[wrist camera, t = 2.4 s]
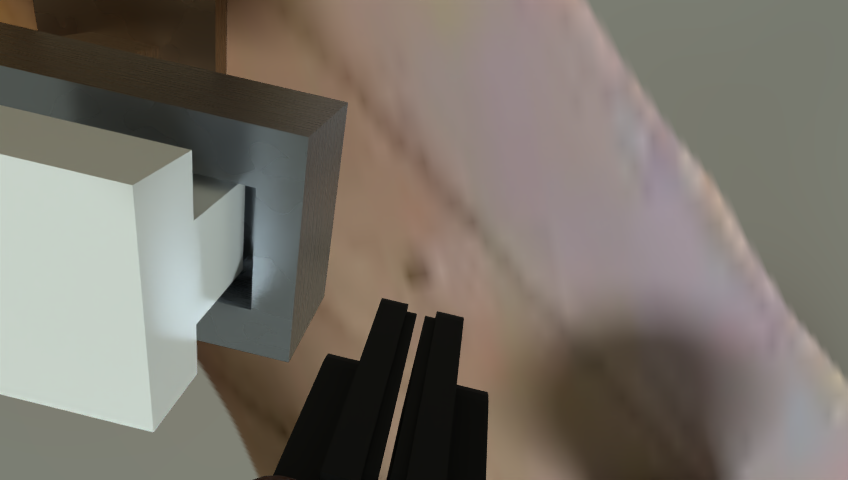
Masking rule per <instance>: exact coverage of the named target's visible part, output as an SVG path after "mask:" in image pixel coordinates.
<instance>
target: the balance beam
mask: <svg viewBox="0 0 848 480" xmlns="http://www.w3.org/2000/svg"><path fill="white" fill-rule="evenodd" d="M33 3H34V10H35V16H36V22H37V29H38V31H36V30H32V29H28V28H23V27H19V26H15V25H10V24H6V23H2V22H0V105H2V106H6V107H11V108H15V109H19V110H23V111H28V112H32V113H36V114H41V115H45V116H49V117H53V118H58V119H62V120H66V121H70V122H75V123H79V124H83V125H87V126H92V127H96V128H100V129H104V130H109V131H113V132H117V133H121V134H126V135H130V136H134V137H138V138H143V139H147V140H151V141H155V142H160V143H164V144H168V145H172V146H177V147H181V148H185V149H190V150H192V173H194V174H199V175H203V176H207V177H211V178H216V179H220V180H224V181H228V182H233V183H237V184H241V185H245V209H244V244H243V270H242V271H241V273H240V274H239V275H238V276H237V277H236V278H235V280H234V281H233V282H232V283H231V284H230V285H229V287H228V288H227V289H226V290H225V291H224V293H223V294H222V295H221V296H220V297H219V298H218V300H217V301H216V302H215V303H214V304H213V305H212V307H211V308H210V309H209V310H208V311H207V312H206V314H205V315H204V316H203V317H202V318H201V320H200V321H199V322H198V323H197V324H196V338H197V340H199V341H203V342H207V343H211V344H215V345H219V346H224V347H228V348H232V349H236V350H240V351H244V352H248V353H252V354H256V355H260V356H265V357H269V358H273V359H277V360H281V361H285V362H289V361H290V359H291V357H292V355H293V353H294V351H295V350H296V348H297V346H298V344H299V342H300V340H301V338H302V337H303V335H304V333H305V331H306V329H307V327H308V325H309V324H310V322H311V320H312V318H313V316H314V314H315V312H316V311H317V309H318V307H319V305H320V303H321V301H322V299H323V297H324V293H325V285H326V277H327V268H328V260H329V252H330V244H331V236H332V228H333V220H334V211H335V203H336V195H337V187H338V179H339V171H340V163H341V154H342V146H343V138H344V130H345V122H346V114H347V106H348V102H344V101H339V100H335V99H331V98H326V97H322V96H318V95H313V94H309V93H305V92H300V91H296V90H292V89H287V88H283V87H279V86H274V85H270V84H266V83H261V82H257V81H253V80H248V79H244V78H240V77H235V76H231V75H227V74H226V33H227V0H33Z"/></svg>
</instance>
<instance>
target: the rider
mask: <svg viewBox="0 0 848 480" xmlns="http://www.w3.org/2000/svg"><path fill="white" fill-rule="evenodd" d="M244 209H245V185H241V184H237V183H233V182H228V181H224V180H220V179H216V178H211V177H207V176H203V175H199V174H194V173H192V150H190V149H185V148H181V147H177V146H172V145H168V144H164V143H160V142H155V141H151V140H147V139H143V138H138V137H134V136H130V135H126V134H121V133H117V132H113V131H109V130H104V129H100V128H96V127H92V126H87V125H83V124H79V123H75V122H70V121H66V120H62V119H58V118H53V117H49V116H45V115H41V114H36V113H32V112H28V111H23V110H19V109H15V108H11V107H6V106H2V105H0V394H1V395H5V396H9V397H14V398H18V399H21V400H26V401H29V402H33V403H37V404H42V405H45V406H49V407H53V408H57V409H62V410H66V411H70V412H74V413H78V414H82V415H86V416H90V417H94V418H98V419H102V420H106V421H110V422H114V423H118V424H122V425H126V426H130V427H134V428H138V429H142V430H146V431H150V432H154V431H155V430H156V429H157V427H158V426H159V425H160V423H161V422H162V421H163V419H164V418H165V417H166V415H167V414H168V413H169V411H170V410H171V409H172V407H173V406H174V404H175V403H176V402H177V401H178V399H179V398H180V397H181V395H182V394H183V392H184V391H185V390H186V388H187V387H188V386H189V384H190V383H191V382H192V380H193V379H194V378H195V376H196V375H197V338H196V324H197V323H198V322H199V321H200V320H201V318H202V317H203V316H204V315H205V314H206V312H207V311H208V310H209V309H210V308H211V307H212V305H213V304H214V303H215V302H216V301H217V300H218V298H219V297H220V296H221V295H222V294H223V293H224V291H225V290H226V289H227V288H228V287H229V285H230V284H231V283H232V282H233V281H234V280H235V278H236V277H237V276H238V275H239V274H240V273H241V271H242V270H243V244H244Z"/></svg>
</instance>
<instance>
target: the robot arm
mask: <svg viewBox="0 0 848 480" xmlns="http://www.w3.org/2000/svg"><path fill="white" fill-rule="evenodd" d="M407 309H408V304H405V303H401V302H396V301H392V300H388V299H384V298H382V300H381V302H380V305H379V308H378V311H377V313H376V316H375V319H374V322H373V325H372V327H371V330H370V333H369V336H368V339H367V342H366V344H365V347H364V350H363V353H362V356H361V359H360V361H357V360H353V359H348V358H344V357H340V356H336V355H332V354H328V355H327V356H326V357H325V359H324V361H323V364H322V366H321V368H320V370H319V373H318V375H317V377H316V379H315V382H314V384H313V386H312V388H311V391H310V393H309V395H308V398H307V400H306V402H305V404H304V407H303V409H302V411H301V413H300V416H299V418H298V420H297V422H296V425H295V427H294V429H293V431H292V434H291V436H290V438H289V440H288V443H287V445H286V447H285V450H284V452H283V454H282V456H281V459H280V461H279V463H278V465H277V468H276V470H275V472H274V474H273V476H263V477H260V478H257V479H254V480H378V477H379V472H380V468H381V464H382V460H383V456H384V452H385V447H386V443H387V439H388V435H389V431H390V427H391V422H392V418H393V414H394V410H395V405H396V401H397V397H398V393H399V388H400V384H401V380H402V376H403V371H404V367H405V363H406V358H407V354H408V350H409V346H410V341H411V337H412V333H413V328H414V324H415V320H416V316H417V314H415V313H411V312H407ZM463 321H464V318H463V317H459V316H455V315H451V314H447V313H442V312H438V311H437V314H436V317H435V318H432V317H428V316H425V319H424V323H423V327H422V331H421V335H420V340H419V344H418V348H417V352H416V356H415V360H414V364H413V368H412V372H411V376H410V380H409V384H408V389H407V393H406V397H405V401H404V405H403V409H402V413H401V418H400V422H399V426H398V431H397V435H396V440H395V444H394V449H393V453H392V458H391V462H390V467H389V471H388V476H387V480H486V460H487V430H488V393H487V392H485V391H481V390H476V389H472V388H468V387H464V386H460V385H457V376H458V367H459V358H460V349H461V340H462V331H463Z"/></svg>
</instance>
